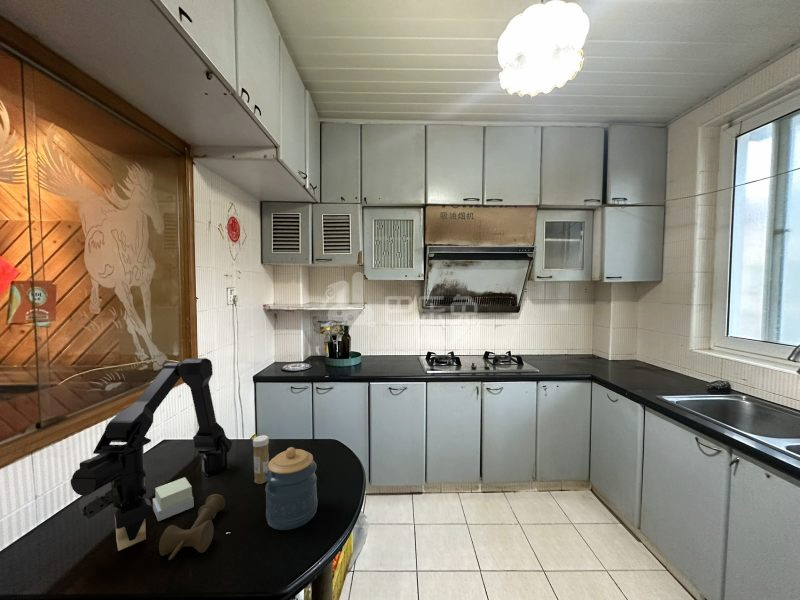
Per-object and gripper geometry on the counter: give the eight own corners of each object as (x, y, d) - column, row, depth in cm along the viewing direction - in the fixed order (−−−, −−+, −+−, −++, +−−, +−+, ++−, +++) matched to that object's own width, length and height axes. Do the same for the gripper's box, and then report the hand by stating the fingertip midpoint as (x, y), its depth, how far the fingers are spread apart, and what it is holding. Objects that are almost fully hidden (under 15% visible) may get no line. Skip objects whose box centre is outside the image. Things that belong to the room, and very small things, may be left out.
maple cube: (142, 528, 81) (142, 508, 81) (145, 538, 77) (145, 518, 77) (116, 539, 77) (115, 519, 77) (118, 551, 74) (117, 529, 74)
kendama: (235, 511, 88) (193, 571, 68) (198, 514, 87) (145, 576, 67) (234, 489, 88) (192, 542, 68) (197, 492, 87) (144, 547, 67)
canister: (303, 492, 94) (301, 433, 94) (327, 513, 85) (325, 447, 85) (257, 514, 85) (256, 448, 85) (279, 540, 76) (276, 466, 76)
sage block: (185, 487, 94) (184, 477, 94) (192, 497, 89) (191, 486, 89) (155, 498, 89) (155, 488, 89) (161, 509, 84) (160, 498, 84)
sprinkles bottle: (271, 481, 101) (269, 438, 101) (255, 486, 98) (254, 442, 98) (268, 474, 105) (266, 433, 104) (252, 479, 102) (251, 437, 102)
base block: (186, 496, 95) (186, 486, 95) (193, 508, 89) (193, 497, 89) (153, 509, 89) (152, 498, 89) (158, 523, 83) (157, 511, 83)
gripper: (80, 468, 78) (82, 532, 78) (82, 502, 65) (85, 579, 65) (139, 452, 86) (141, 510, 86) (151, 479, 73) (153, 547, 73)
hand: (130, 534), depth 77 cm, fingers closed on maple cube, 5 cm apart
